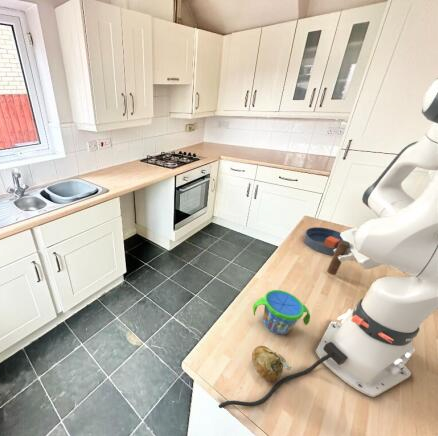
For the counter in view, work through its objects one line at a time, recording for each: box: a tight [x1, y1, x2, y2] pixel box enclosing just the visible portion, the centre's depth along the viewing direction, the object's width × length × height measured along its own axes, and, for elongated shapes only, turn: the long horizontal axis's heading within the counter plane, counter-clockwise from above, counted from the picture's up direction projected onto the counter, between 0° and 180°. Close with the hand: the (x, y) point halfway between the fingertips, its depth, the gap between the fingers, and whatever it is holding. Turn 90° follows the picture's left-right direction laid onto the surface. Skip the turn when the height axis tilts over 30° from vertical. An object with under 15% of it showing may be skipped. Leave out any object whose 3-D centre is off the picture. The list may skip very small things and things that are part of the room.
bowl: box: [302, 226, 351, 257], centre depth 113 cm, size 18×18×4 cm
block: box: [324, 236, 340, 248], centre depth 111 cm, size 4×4×4 cm
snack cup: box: [252, 289, 311, 335], centre depth 74 cm, size 16×10×10 cm
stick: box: [326, 240, 350, 275], centre depth 92 cm, size 3×3×14 cm
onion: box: [251, 345, 292, 381], centre depth 63 cm, size 8×8×8 cm
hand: (336, 255), depth 92 cm, fingers closed on stick, 3 cm apart
